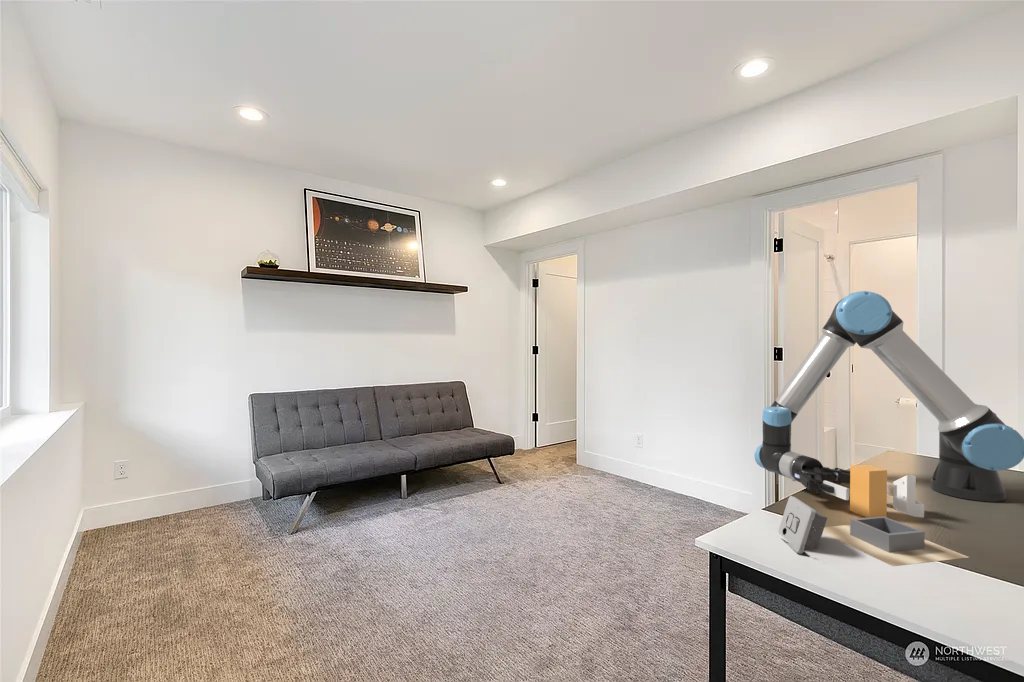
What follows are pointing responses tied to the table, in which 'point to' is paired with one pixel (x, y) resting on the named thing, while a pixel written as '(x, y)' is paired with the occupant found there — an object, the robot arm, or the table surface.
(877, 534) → the socket cup
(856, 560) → the table surface
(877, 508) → the connector plug
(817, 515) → the electrical switch
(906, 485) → the white wedge bracket
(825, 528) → the mounting board
